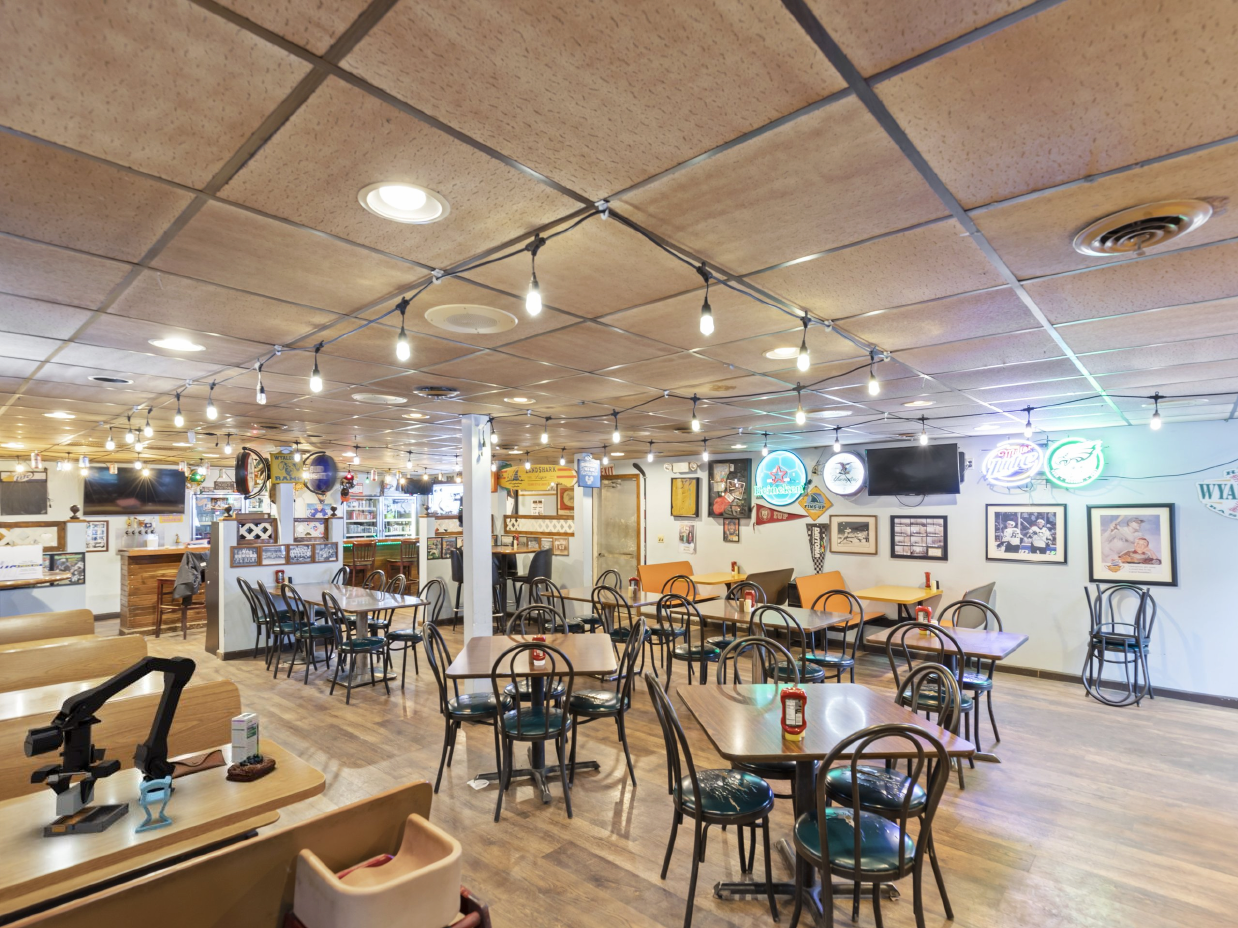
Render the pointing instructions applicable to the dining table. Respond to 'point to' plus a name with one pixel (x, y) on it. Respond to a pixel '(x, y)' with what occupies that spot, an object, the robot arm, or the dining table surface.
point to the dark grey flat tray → (87, 820)
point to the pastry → (250, 768)
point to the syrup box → (245, 736)
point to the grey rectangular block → (71, 801)
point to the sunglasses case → (198, 763)
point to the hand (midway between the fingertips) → (75, 803)
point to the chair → (153, 798)
